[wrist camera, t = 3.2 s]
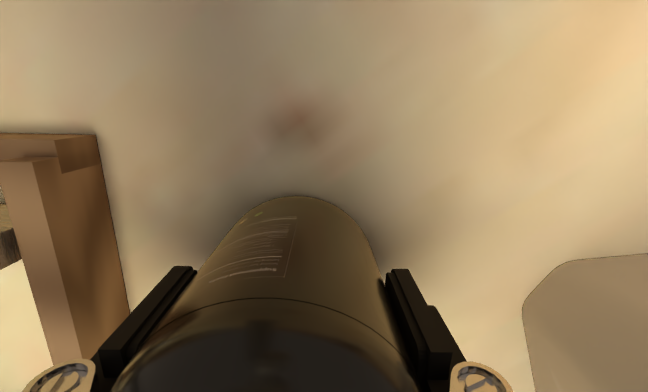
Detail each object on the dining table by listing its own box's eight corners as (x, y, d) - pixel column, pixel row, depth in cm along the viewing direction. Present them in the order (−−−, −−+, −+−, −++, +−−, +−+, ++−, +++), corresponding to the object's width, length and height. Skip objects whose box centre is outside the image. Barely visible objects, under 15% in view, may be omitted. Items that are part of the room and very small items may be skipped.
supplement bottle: (398, 278, 14) (702, 954, 3) (282, 343, 15) (168, 1035, 4) (318, 159, 13) (290, 638, 1) (194, 241, 14) (-448, 922, 2)
